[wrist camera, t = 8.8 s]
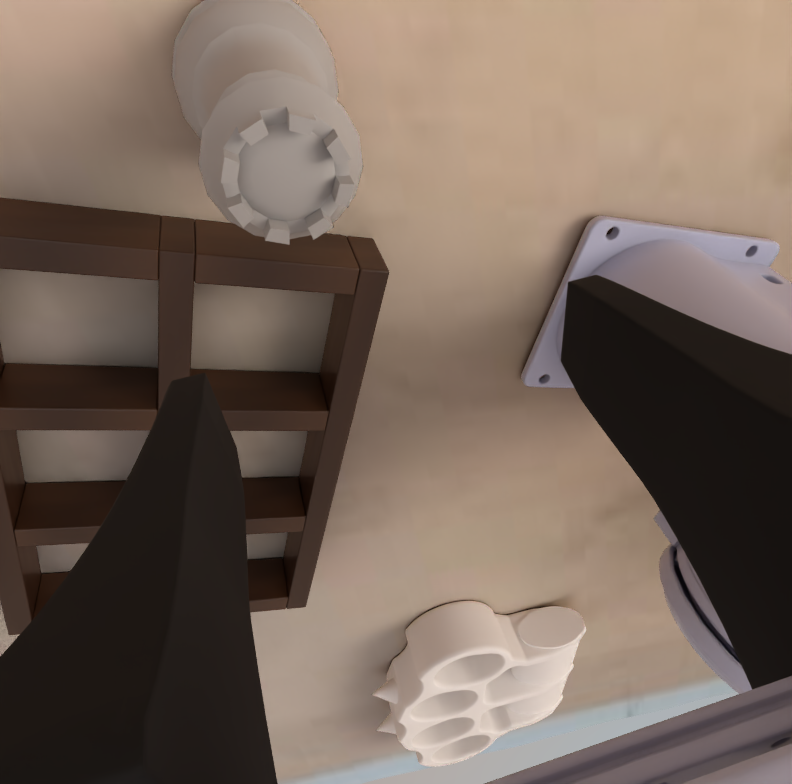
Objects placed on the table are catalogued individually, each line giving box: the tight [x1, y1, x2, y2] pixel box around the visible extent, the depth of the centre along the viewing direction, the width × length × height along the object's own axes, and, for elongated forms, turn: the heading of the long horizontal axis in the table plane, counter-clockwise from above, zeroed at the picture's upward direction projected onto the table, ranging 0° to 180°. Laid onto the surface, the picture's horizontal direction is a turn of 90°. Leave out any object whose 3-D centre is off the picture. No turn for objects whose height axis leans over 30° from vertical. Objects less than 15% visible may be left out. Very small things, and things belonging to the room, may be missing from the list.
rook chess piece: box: [172, 0, 363, 245], centre depth 15 cm, size 4×4×8 cm
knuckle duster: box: [371, 601, 586, 767], centre depth 44 cm, size 3×18×15 cm
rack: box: [0, 198, 389, 635], centre depth 25 cm, size 13×19×2 cm
